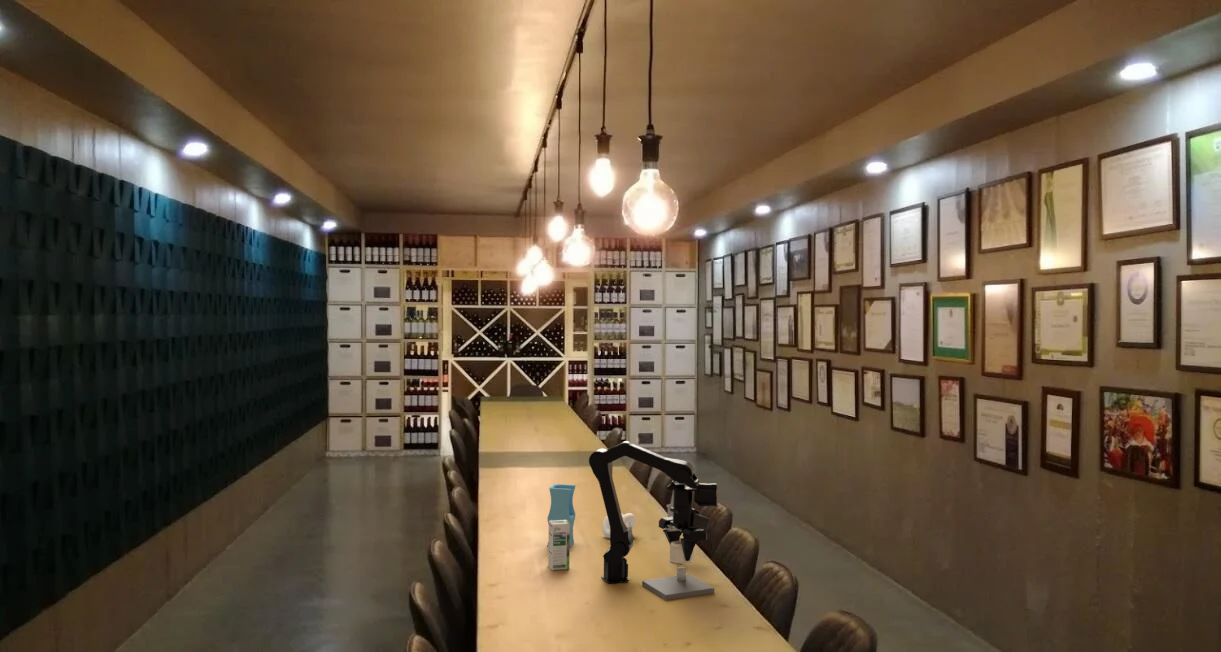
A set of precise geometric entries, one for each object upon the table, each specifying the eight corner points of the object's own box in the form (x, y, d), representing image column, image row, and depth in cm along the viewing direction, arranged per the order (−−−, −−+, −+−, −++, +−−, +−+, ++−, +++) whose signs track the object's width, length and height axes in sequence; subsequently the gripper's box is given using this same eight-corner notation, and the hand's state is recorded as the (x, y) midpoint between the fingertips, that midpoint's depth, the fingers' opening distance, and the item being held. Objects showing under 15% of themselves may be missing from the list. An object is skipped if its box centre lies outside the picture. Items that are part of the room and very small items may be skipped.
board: (665, 600, 232) (665, 582, 232) (642, 585, 245) (642, 568, 245) (714, 593, 239) (714, 575, 239) (689, 579, 252) (689, 562, 252)
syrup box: (551, 570, 258) (552, 524, 258) (547, 565, 264) (548, 519, 264) (569, 569, 260) (570, 523, 260) (565, 564, 265) (566, 518, 265)
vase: (569, 548, 284) (570, 489, 284) (547, 546, 286) (548, 488, 286) (574, 542, 292) (575, 485, 292) (553, 540, 294) (554, 483, 294)
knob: (677, 564, 242) (678, 546, 242) (666, 558, 248) (666, 540, 248) (697, 562, 245) (697, 544, 245) (685, 556, 251) (686, 538, 251)
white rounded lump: (595, 539, 297) (595, 514, 297) (610, 531, 307) (611, 507, 307) (623, 543, 291) (623, 518, 291) (638, 536, 302) (638, 511, 302)
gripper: (723, 509, 241) (722, 563, 241) (689, 496, 258) (688, 547, 258) (690, 512, 236) (688, 567, 236) (658, 499, 253) (657, 550, 253)
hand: (681, 557), depth 246 cm, fingers closed on knob, 6 cm apart
